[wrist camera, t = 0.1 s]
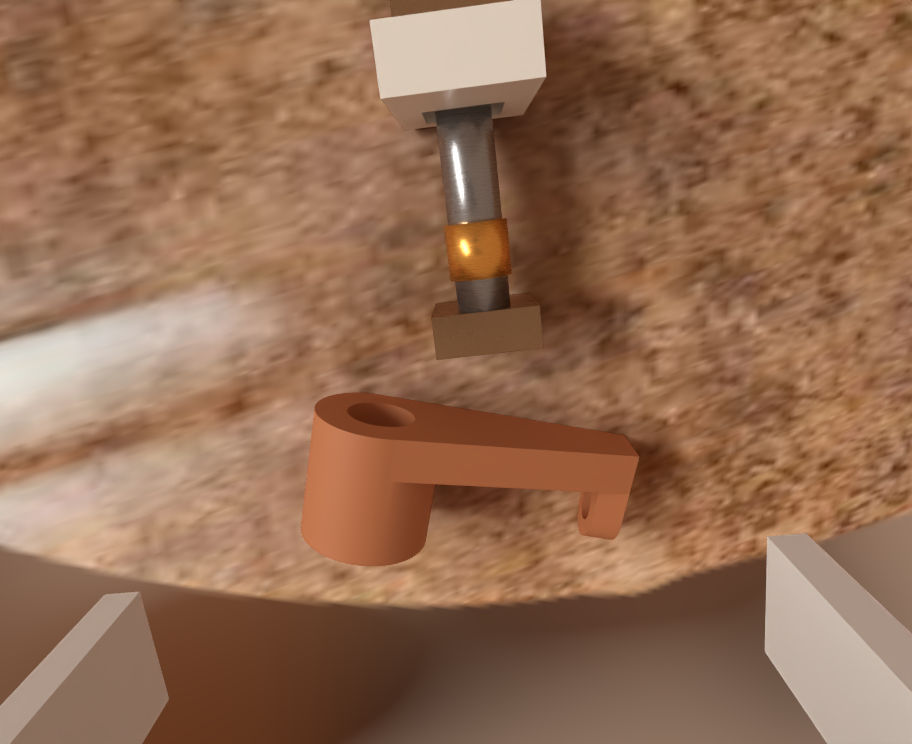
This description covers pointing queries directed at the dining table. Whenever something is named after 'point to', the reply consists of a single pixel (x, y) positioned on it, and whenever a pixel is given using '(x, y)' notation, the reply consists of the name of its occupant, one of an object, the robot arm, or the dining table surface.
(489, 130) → the pipe rig
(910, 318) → the dining table surface
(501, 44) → the sleeve
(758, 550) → the dining table surface
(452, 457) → the crank
